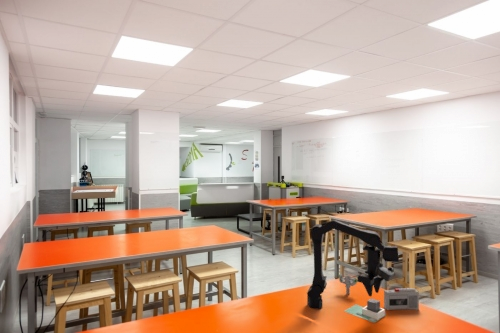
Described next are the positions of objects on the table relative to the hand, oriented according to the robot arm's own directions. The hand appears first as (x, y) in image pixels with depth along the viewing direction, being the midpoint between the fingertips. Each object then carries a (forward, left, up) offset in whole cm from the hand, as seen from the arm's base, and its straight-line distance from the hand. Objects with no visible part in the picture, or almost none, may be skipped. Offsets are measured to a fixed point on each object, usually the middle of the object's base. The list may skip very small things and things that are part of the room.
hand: (373, 294), depth 146 cm
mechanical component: (-21, +12, -10) cm, 26 cm away
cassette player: (+5, +16, -10) cm, 20 cm away
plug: (0, 0, -9) cm, 9 cm away
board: (-4, -2, -10) cm, 11 cm away
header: (0, 0, -9) cm, 9 cm away
